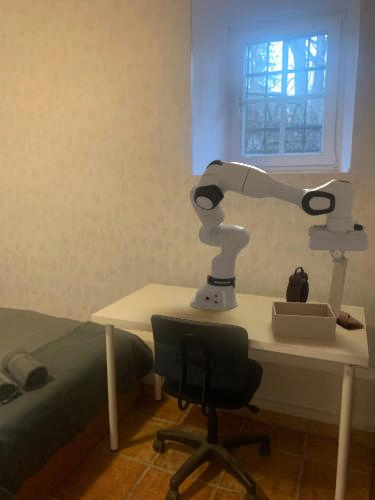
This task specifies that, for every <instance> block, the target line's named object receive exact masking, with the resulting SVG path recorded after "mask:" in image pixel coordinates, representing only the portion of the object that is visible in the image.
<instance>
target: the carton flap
mask: <svg viewBox="0 0 375 500" xmlns="http://www.w3.org/2000/svg"><path fill="white" fill-rule="evenodd" d="M334 254H335V255H334V257H339V255H340V254H341V253H340V251H335V253H334ZM348 262H349V260H348V258H347V257H346V256H345V254H344V255H343V257H342V258H341V263H337V262H333V263H334V264H333V268H332V277H331V281H330V282H331V284H330V289H329V295H328V296H329V297H328V303H327V304H328V305H329V307H330V308H332V310H333V312H334V313H335V315H336V316H337V318H339V315H340V310H341V306H342V302H343V301H342V300H343V294H344V289H345V280H346V274H347V267H348Z"/></svg>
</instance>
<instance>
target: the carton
mask: <svg viewBox="0 0 375 500" xmlns="http://www.w3.org/2000/svg"><path fill="white" fill-rule="evenodd" d="M336 320H337V318H336V316H335V315H334V313H333V311H332V310H331V307H330V305H329V304H328V303H319V302H317V303H315V302H314V303H312V302H306V303H297V302H286V301H275V300H273V301H272V305H271V327H272V332H273V337H280V338H291V339H292V338H294V339H308V340H319V341H321V340H322V341H334V342H335V341H336V333H337V330H336V329H337V322H336Z"/></svg>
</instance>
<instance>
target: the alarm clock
mask: <svg viewBox="0 0 375 500" xmlns="http://www.w3.org/2000/svg"><path fill="white" fill-rule="evenodd" d="M299 270H300V271H299ZM308 280H309V275H308V273H307V272H306V271H305V269H304V268H303V267H302V266H297V267H296V268H295V269H294V273H293V274H291V275H290V276H289V278H288V283H287V287H286V292H285V300H286V301H285V302H297V303H308V302H307V301H308V298H309V291H310V285H309V282H308Z"/></svg>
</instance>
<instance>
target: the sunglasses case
mask: <svg viewBox="0 0 375 500" xmlns="http://www.w3.org/2000/svg"><path fill="white" fill-rule="evenodd" d="M330 308H331V307H330ZM331 310H332V308H331ZM332 311H333V310H332ZM333 313H334V312H333ZM334 315H335V313H334ZM335 316H336V315H335ZM336 318H337V316H336ZM336 323H337V324H339V325H340V326H342V327H344V328H345V329H347V330H359V329H362V328H364V327H365V325H364V324H363V323H362V322H361V321H359V319H356V318H355V317H354V316H352V315H351V314H350V313H348V312H345V311H343V310H341V309H340V315H339V318H337V320H336Z"/></svg>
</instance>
